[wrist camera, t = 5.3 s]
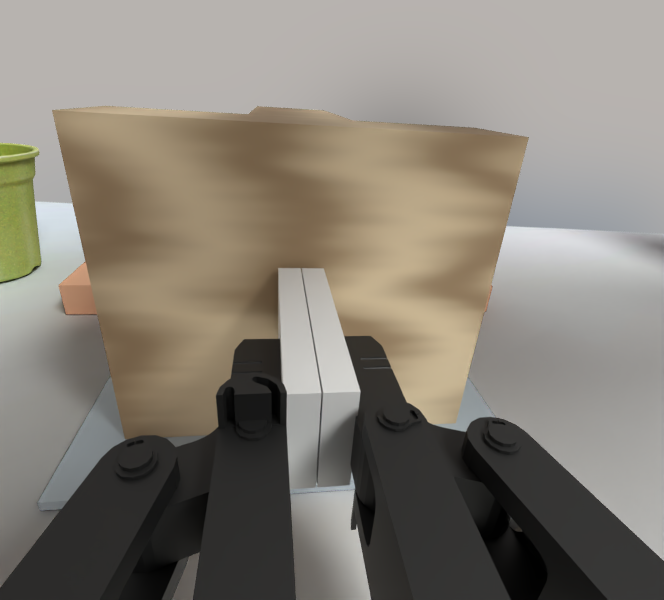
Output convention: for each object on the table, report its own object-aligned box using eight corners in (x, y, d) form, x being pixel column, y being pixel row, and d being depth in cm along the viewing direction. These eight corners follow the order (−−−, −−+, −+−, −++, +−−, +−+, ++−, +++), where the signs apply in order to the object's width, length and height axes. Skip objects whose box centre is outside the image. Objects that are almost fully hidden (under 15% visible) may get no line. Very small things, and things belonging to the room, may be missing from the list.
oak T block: (382, 290, 31) (404, 115, 25) (455, 423, 18) (528, 137, 13) (188, 290, 29) (168, 100, 24) (125, 439, 16) (52, 109, 11)
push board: (411, 234, 45) (414, 217, 45) (639, 470, 17) (659, 434, 16) (145, 229, 42) (142, 209, 41) (-129, 522, 13) (-158, 478, 12)
